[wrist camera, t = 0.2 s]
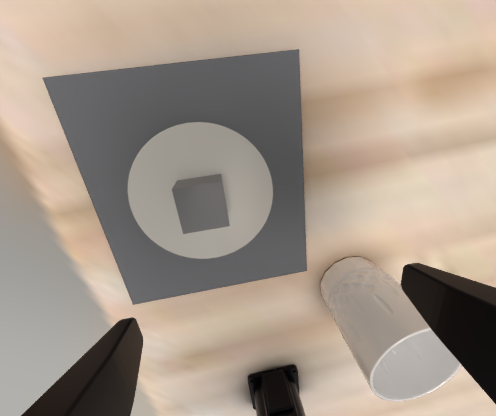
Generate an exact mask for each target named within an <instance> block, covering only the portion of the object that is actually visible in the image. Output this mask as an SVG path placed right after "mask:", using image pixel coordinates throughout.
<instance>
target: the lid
mask: <svg viewBox="0 0 496 416" xmlns="http://www.w3.org/2000/svg"><path fill="white" fill-rule="evenodd" d="M128 199H129V204H130V208H131V211H132V213H133V215H134V218H135V220H136V221H137V223H138V225H139V226H140V228H141V229H142V230H143V232H144V233H145V234H146V235H147V236H148V237H149V238H150V239H151V240H152V241H154V242H155V243H156V244H157V245H159V246H161V247H162V248H164V249H165V250H167V251H170V252H172V253H174V254H177V255H180V256H184V257H189V258H196V259H209V258H216V257H221V256H225V255H227V254H230V253H233V252H235V251H237V250H239V249H240V248H242V247H243V246H245V245H246V244H248V243H249V242H250V241H251V240H252V239H253V238H254V237H255V236H256V235H257V234H258V233H259V232H260V230H261V229H262V227H263V226H264V224H265V222H266V220H267V218H268V216H269V213H270V210H271V206H272V199H273V185H272V178H271V175H270V172H269V169H268V166H267V164H266V162H265V160H264V158H263V157H262V155H261V154H260V152H259V151H258V150H257V149H256V147H255V146H254V145H253V144H252V143H251V142H249V141H248V140H247V139H246V138H245V137H243V136H242V135H240V134H239V133H237V132H235V131H233V130H231V129H229V128H227V127H224V126H221V125H218V124H213V123H207V122H190V123H184V124H179V125H176V126H173V127H170V128H168V129H166V130H164V131H162V132H160V133H158V134H157V135H156V136H154V137H153V138H151V139H150V140H149V141H148V142H147V143H146V144H145V145H144V146H143V147H142V149H141V150H140V152H139V153H138V154H137V156H136V158H135V160H134V162H133V164H132V167H131V170H130V173H129V178H128Z"/></svg>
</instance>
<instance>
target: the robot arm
mask: <svg viewBox="0 0 496 416" xmlns="http://www.w3.org/2000/svg"><path fill="white" fill-rule="evenodd" d="M401 287H402V290H403V292H404V293H405V294H406V296H407V297H408V299H409V300H410V301H411V303H412V304H413V305H414V307H415V308H416V309H417V311H418V312H419V313H420V315H421V316H422V318H423V319H424V320H425V322H426V323H427V324H428V326H429V327H430V328H431V330H432V331H433V332H434V333H435V335H436V336H437V337H438V338H439V339H440V341H441V342H442V343H443V344H444V345H445V346H446V348H447V349H448V350H449V351H450V352H451V353H452V354H453V356H454V357H455V358H456V359H457V360H458V361H459V362H460V364H461V365H462V366H463V367H464V368H465V369H466V371H467V372H468V373H469V374H470V375H471V376H472V377H473V379H474V380H475V381H476V382H477V383H478V384H479V385H480V387H481V388H482V389H483V390H484V391H485V392H486V394H487V395H488V396H489V397H490V398H491V399H492V400H493V402H494V403H495V404H496V288H495V287H491V286H488V285H485V284H482V283H479V282H476V281H473V280H470V279H467V278H464V277H460V276H457V275H454V274H451V273H448V272H445V271H442V270H439V269H436V268H432V267H429V266H426V265H423V264H420V263H412V264H407V265H405V266H404V268H403V273H402V280H401ZM142 347H143V336H142V333H141V331H140V328H139V326H138V323H137V321H136V319H135V318H127V319H122V320H120V321H119V322H117V323H116V324H115V325H114V326H113V327H112V328H111V329H110V330H109V331H108V332H107V333H106V334H105V335H104V336H103V337H102V338H101V339H100V340H99V341H98V342H97V343H96V344H95V345H94V346H93V347H92V348H91V349H90V350H88V352H86V353H85V354H84V356H82V357H81V358H80V359H79V360H78V361H77V362H76V363H75V364H74V365H73V366H72V367H71V368H70V369H69V370H68V371H67V372H66V373H65V374H64V375H63V376H62V377H61V378H60V379H59V380H58V381H56V382H55V383H54V385H52V386H51V387H50V388H49V389H48V390H47V391H46V392H45V393H44V394H43V395H42V396H41V397H40V398H39V399H38V400H37V401H36V402H35V403H34V404H33V405H32V406H31V407H30V408H29V409H28V410H27V411H26V412H25V413H24V414H22V415H21V416H130V414H131V410H132V406H133V402H134V397H135V391H136V385H137V379H138V372H139V366H140V360H141V354H142ZM248 383H249V388H250V394H251V399H252V404H253V408H254V409H256V413H257V416H305V413H304V409H303V406H302V403H301V400H300V397H299V384H298V370H297V367H296V366H289V367H285V368H280V369H276V370H272V371H267V372H263V373H259V374H254V375H250V376H249V377H248Z"/></svg>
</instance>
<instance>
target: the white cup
mask: <svg viewBox="0 0 496 416" xmlns="http://www.w3.org/2000/svg"><path fill="white" fill-rule="evenodd" d="M320 285H321V294H322V297H323V298H324V300H325V302H326V304H327V306H328V307H329V309H330V311H331V314H332V316H333V318H334V320H335V322H336V324H337V326H338V328H339V330H340V332H341V334H342V336H343V338H344V340H345V342H346V344H347V345H348V347H349V349H350V351H351V353H352V355H353V356H354V358H355V360H356V362H357V364H358V366H359V367H360V369H361V371H362V373H363V375H364V377H365V379H366V380H367V382H368V384H369V386H370V388H371V390H372V391H373V393H374V394H375V395H376V396H378V397H379V398H381V399H384V400H388V401H407V400H412V399H415V398H418V397H421V396H424V395H426V394H428V393H430V392H432V391H434V390H436V389H437V388H439V387H440V386H442V385H443V384H445V383H446V382H447V381H448V380H450V379H451V378H452V377H453V376H454V375H455V374H456V373H457V371H458V370H459V369H460V367H461V366H462V365H461V364H460V362H459V361H458V360H457V359H456V358H455V357H454V356H453V354H452V353H451V352H450V351H449V350H448V349H447V348H446V346H445V345H444V344H443V343H442V342H441V341H440V339H439V338H438V337H437V336H436V335H435V333H434V332H433V331H432V330H431V328H430V327H429V326H428V324H427V323H426V322H425V320H424V319H423V318H422V316H421V315H420V313H419V312H418V311H417V309H416V308H415V307H414V305H413V304H412V303H411V301H410V300H409V299H408V297H407V296H406V294H405V293H404V292H403V290H402V287H401V284H399V283H398V282H397V281H396V280H395V279H393V278H392V277H391V276H389V275H388V274H386V273H384V272H383V271H382V270H380V269H379V268H378V267H377V266H376V265H374V264H373V263H372V262H371V261H369V260H366V259H364V258H362V257H348V258H345V259H343V260H341V261H339V262H336V263H334V264H333V265H332V266H331V267H330V268H329V269H328V270H327V271H326V272H325V274H324V276H323V279H322V281H321V284H320Z"/></svg>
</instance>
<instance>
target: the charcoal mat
mask: <svg viewBox="0 0 496 416" xmlns="http://www.w3.org/2000/svg"><path fill="white" fill-rule="evenodd" d="M43 80H44V83H45V85H46V88H47V90H48V93H49V95H50V98H51V100H52V103H53V105H54V108H55V110H56V113H57V115H58V118H59V120H60V123H61V125H62V128H63V130H64V133H65V135H66V138H67V140H68V143H69V145H70V148H71V150H72V153H73V155H74V158H75V160H76V163H77V165H78V168H79V170H80V173H81V175H82V178H83V180H84V183H85V185H86V188H87V190H88V193H89V195H90V198H91V200H92V203H93V205H94V208H95V210H96V213H97V215H98V218H99V220H100V223H101V225H102V228H103V230H104V233H105V235H106V238H107V240H108V243H109V245H110V248H111V250H112V253H113V255H114V258H115V260H116V263H117V265H118V268H119V270H120V273H121V275H122V278H123V280H124V283H125V285H126V288H127V290H128V293H129V295H130V298H131V300H132V303H133V305H134V304H139V303H144V302H149V301H154V300H159V299H165V298H170V297H175V296H180V295H185V294H190V293H195V292H200V291H206V290H211V289H216V288H221V287H226V286H231V285H236V284H241V283H246V282H252V281H257V280H262V279H267V278H272V277H277V276H282V275H287V274H293V273H298V272H303V271H307V261H306V233H305V205H304V177H303V149H302V121H301V93H300V65H299V49H298V50H289V51H280V52H271V53H262V54H253V55H244V56H235V57H226V58H217V59H208V60H199V61H190V62H181V63H172V64H163V65H154V66H145V67H136V68H127V69H118V70H109V71H100V72H91V73H82V74H73V75H64V76H55V77H46V78H43ZM190 122H207V123H213V124H218V125H221V126H224V127H227V128H229V129H231V130H233V131H235V132H237V133H239V134H240V135H242V136H243V137H245V138H246V139H247V140H248V141H249V142H251V143H252V144H253V145H254V146H255V147H256V149H257V150H258V151H259V152H260V154H261V155H262V157H263V158H264V160H265V162H266V164H267V166H268V169H269V172H270V175H271V178H272V185H273V199H272V206H271V210H270V213H269V216H268V218H267V220H266V222H265V224H264V226H263V227H262V229H261V230H260V232H259V233H258V234H257V235H256V236H255V237H254V238H253V239H252V240H251V241H250V242H249V243H248V244H246V245H245V246H243V247H242V248H240V249H239V250H237V251H235V252H233V253H230V254H227V255H225V256H221V257H216V258H209V259H196V258H189V257H184V256H180V255H177V254H174V253H172V252H170V251H167V250H165V249H164V248H162V247H161V246H159V245H157V244H156V243H155V242H154V241H152V240H151V239H150V238H149V237H148V236H147V235H146V234H145V233H144V232H143V230H142V229H141V228H140V226H139V225H138V223H137V221H136V220H135V218H134V215H133V213H132V211H131V208H130V204H129V199H128V178H129V173H130V170H131V167H132V164H133V162H134V160H135V158H136V156H137V154H138V153H139V152H140V150H141V149H142V147H143V146H144V145H145V144H146V143H147V142H148V141H149V140H150V139H151V138H153V137H154V136H156V135H157V134H158V133H160V132H162V131H164V130H166V129H168V128H170V127H173V126H176V125H179V124H184V123H190Z"/></svg>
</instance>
